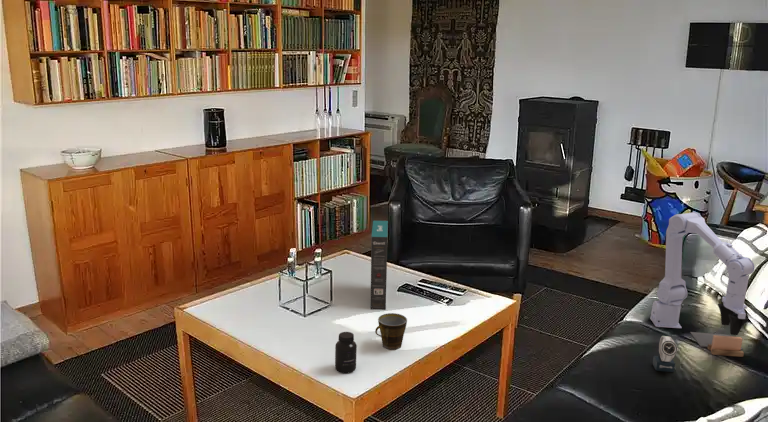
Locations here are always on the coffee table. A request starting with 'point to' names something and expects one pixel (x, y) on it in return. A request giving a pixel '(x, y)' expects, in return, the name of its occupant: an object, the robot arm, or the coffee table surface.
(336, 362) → the supplement bottle
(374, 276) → the cake mix box
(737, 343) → the tile
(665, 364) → the watch
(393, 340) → the ceramic cup
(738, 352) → the rack
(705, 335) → the mat
